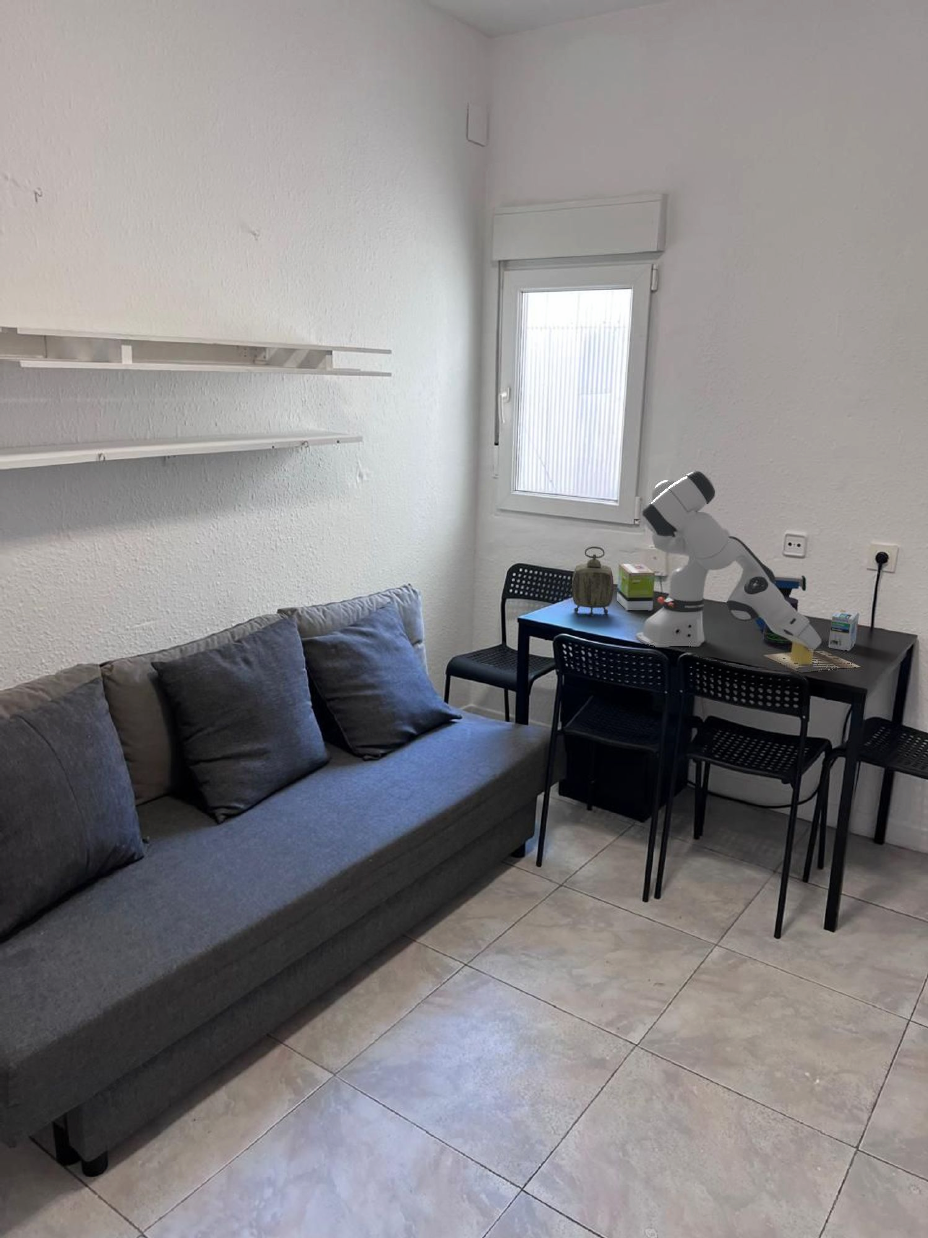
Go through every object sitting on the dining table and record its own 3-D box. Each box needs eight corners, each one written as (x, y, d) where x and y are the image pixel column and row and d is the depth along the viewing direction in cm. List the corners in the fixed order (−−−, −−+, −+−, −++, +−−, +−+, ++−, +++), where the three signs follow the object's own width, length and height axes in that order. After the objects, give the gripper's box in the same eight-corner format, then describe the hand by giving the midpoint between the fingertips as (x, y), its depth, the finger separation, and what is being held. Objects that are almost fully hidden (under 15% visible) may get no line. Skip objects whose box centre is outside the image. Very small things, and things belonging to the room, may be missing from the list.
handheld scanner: (801, 634, 319) (807, 577, 315) (752, 630, 322) (757, 574, 318) (799, 631, 324) (805, 575, 319) (750, 627, 327) (756, 572, 322)
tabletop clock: (610, 612, 342) (615, 545, 335) (611, 619, 333) (616, 550, 326) (570, 610, 343) (574, 543, 336) (570, 617, 334) (574, 548, 328)
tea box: (615, 600, 359) (618, 563, 355) (641, 600, 360) (644, 563, 356) (626, 611, 345) (629, 571, 341) (653, 611, 346) (656, 571, 342)
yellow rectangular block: (800, 664, 287) (805, 635, 284) (790, 659, 291) (794, 630, 289) (811, 663, 288) (816, 634, 285) (800, 659, 292) (805, 629, 290)
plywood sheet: (800, 673, 279) (801, 673, 279) (763, 655, 295) (763, 655, 295) (860, 667, 286) (860, 666, 286) (820, 649, 303) (820, 649, 303)
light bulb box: (849, 651, 302) (853, 619, 299) (827, 648, 305) (831, 616, 302) (855, 643, 310) (859, 612, 308) (834, 640, 314) (838, 609, 311)
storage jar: (799, 646, 306) (805, 602, 302) (773, 648, 303) (778, 603, 299) (781, 638, 315) (786, 594, 311) (756, 640, 312) (760, 596, 308)
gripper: (754, 617, 292) (776, 644, 298) (797, 635, 273) (820, 664, 279) (767, 602, 292) (790, 630, 298) (811, 619, 274) (834, 649, 280)
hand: (805, 647), depth 289 cm, fingers closed on yellow rectangular block, 5 cm apart
